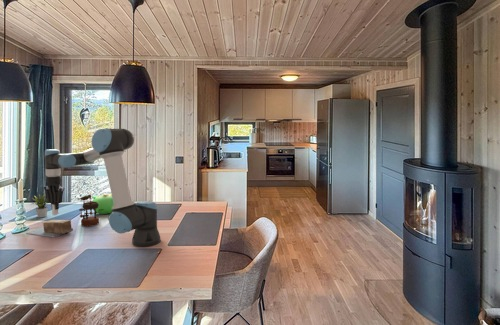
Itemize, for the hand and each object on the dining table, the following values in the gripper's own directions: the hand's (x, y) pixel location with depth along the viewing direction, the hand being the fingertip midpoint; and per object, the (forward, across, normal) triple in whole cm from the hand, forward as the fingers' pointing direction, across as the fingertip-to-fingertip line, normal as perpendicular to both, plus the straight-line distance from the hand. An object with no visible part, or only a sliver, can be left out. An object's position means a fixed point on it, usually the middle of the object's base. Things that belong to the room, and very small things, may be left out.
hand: (55, 214), depth 183 cm
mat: (+11, +4, 0) cm, 12 cm away
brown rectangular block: (+6, -8, 0) cm, 10 cm away
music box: (+11, -7, -20) cm, 24 cm away
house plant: (+11, +35, -22) cm, 43 cm away
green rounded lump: (+11, +1, -43) cm, 44 cm away
